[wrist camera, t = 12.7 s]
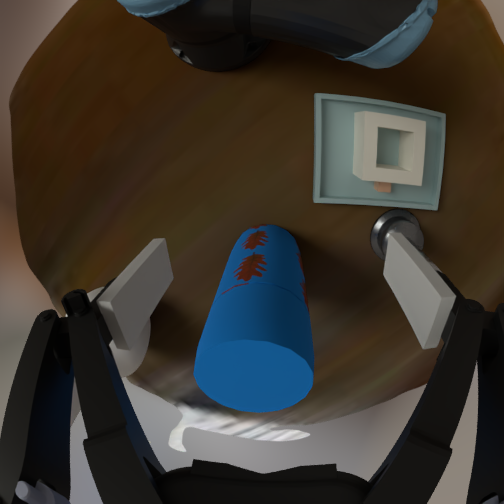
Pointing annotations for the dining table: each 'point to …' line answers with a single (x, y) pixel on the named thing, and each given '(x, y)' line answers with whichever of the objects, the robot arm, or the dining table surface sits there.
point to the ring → (408, 150)
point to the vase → (118, 357)
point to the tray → (342, 151)
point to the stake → (401, 224)
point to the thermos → (258, 327)
